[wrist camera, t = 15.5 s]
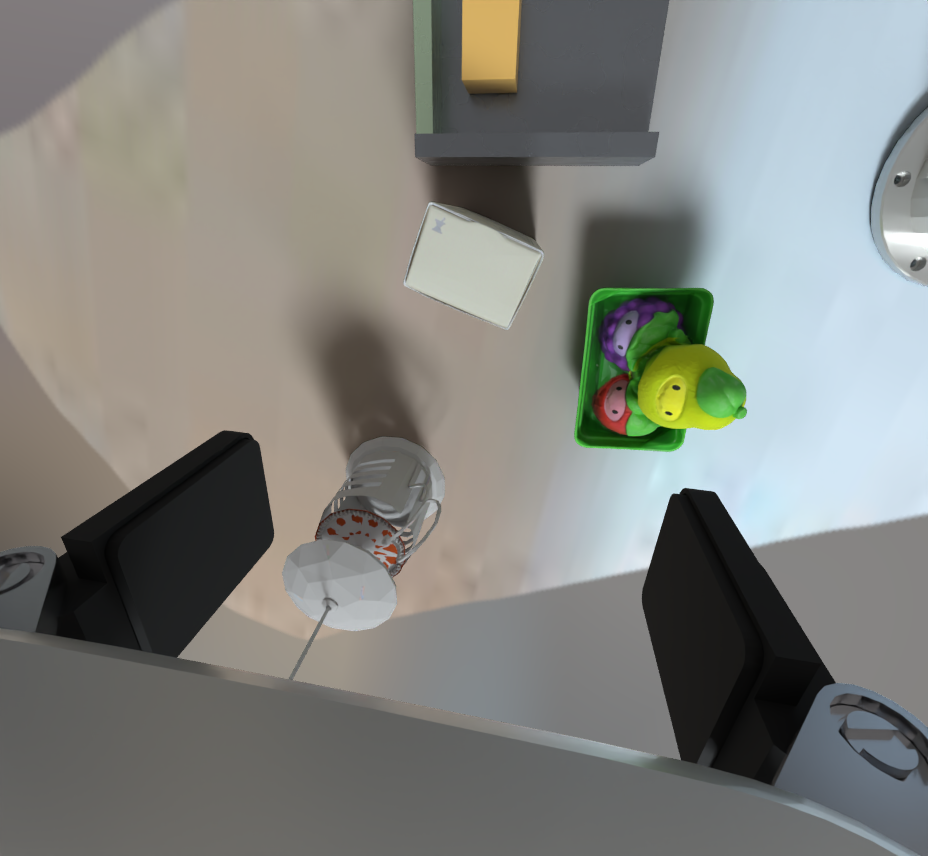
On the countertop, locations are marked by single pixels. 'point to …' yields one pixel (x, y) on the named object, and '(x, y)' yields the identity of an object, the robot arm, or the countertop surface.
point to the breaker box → (543, 86)
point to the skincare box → (472, 264)
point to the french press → (365, 537)
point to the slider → (490, 45)
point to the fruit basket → (652, 371)
